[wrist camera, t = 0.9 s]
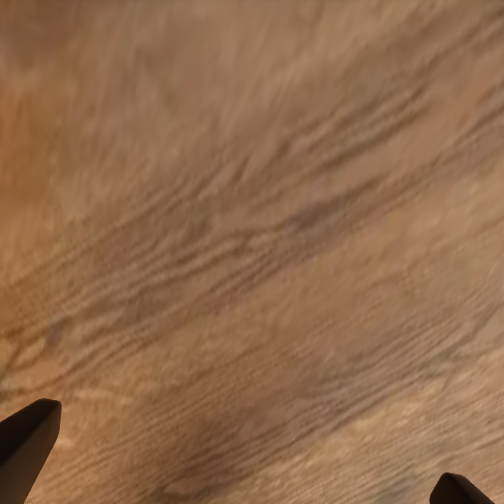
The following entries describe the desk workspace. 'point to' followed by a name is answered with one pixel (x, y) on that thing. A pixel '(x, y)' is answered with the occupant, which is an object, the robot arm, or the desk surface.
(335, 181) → the desk surface
